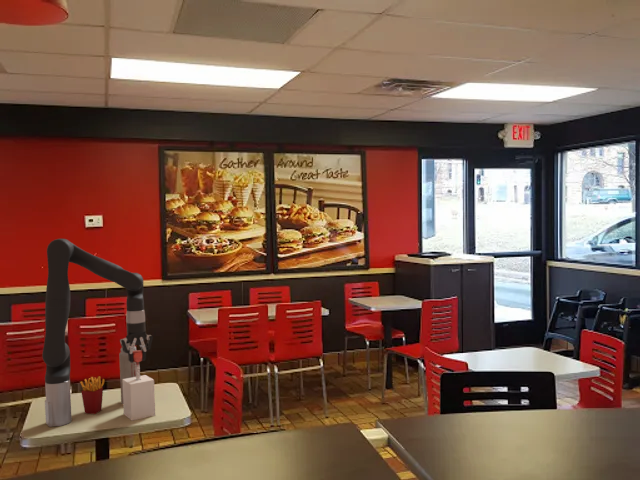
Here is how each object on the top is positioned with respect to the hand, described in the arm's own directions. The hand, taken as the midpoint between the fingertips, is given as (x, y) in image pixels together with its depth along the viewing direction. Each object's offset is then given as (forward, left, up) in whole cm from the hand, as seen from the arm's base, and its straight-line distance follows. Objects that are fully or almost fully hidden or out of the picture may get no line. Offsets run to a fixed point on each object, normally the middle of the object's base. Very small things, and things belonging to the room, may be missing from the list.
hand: (137, 361), depth 252 cm
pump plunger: (0, 0, -16) cm, 16 cm away
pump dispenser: (0, 0, -23) cm, 23 cm away
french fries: (-14, +18, -23) cm, 32 cm away
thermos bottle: (+3, +20, -23) cm, 31 cm away
